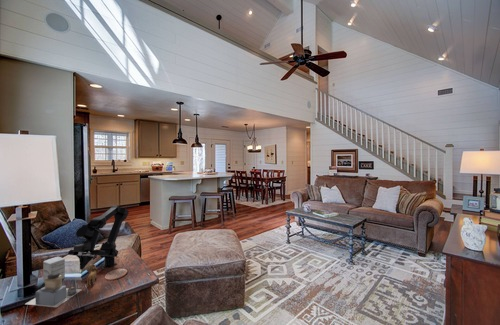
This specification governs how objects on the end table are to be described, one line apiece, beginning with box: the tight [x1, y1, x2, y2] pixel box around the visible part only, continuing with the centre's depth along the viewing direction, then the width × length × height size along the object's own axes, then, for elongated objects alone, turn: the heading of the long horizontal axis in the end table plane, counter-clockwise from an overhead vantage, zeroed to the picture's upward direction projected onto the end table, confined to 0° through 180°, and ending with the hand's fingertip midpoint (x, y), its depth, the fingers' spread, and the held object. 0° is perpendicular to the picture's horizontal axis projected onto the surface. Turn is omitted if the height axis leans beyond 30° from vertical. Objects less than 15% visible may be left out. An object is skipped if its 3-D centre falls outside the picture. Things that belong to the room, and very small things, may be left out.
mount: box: [25, 285, 82, 308], centre depth 112 cm, size 14×17×8 cm
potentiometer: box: [67, 286, 77, 297], centre depth 114 cm, size 4×4×3 cm
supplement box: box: [42, 256, 66, 284], centre depth 127 cm, size 7×7×13 cm
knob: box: [44, 272, 63, 291], centre depth 109 cm, size 4×5×12 cm
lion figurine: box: [85, 263, 98, 288], centre depth 126 cm, size 15×5×9 cm, turn 38°
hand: (81, 269), depth 122 cm, fingers closed
